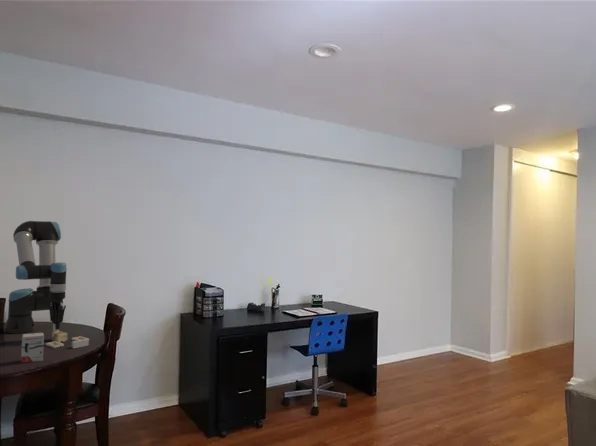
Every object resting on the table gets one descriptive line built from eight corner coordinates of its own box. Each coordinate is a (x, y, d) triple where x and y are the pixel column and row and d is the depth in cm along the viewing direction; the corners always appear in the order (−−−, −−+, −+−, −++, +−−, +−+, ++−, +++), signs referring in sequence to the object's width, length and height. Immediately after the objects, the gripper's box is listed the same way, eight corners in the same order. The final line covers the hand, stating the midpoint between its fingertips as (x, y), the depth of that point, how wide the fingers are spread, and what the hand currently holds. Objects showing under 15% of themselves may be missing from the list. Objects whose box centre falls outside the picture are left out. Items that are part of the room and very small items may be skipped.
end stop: (71, 347, 228) (71, 341, 228) (86, 344, 235) (86, 338, 235) (73, 348, 227) (74, 342, 227) (88, 345, 234) (88, 339, 234)
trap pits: (45, 345, 231) (45, 343, 231) (80, 338, 247) (80, 336, 247) (54, 347, 227) (54, 345, 227) (89, 340, 243) (89, 338, 243)
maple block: (51, 340, 240) (52, 333, 240) (60, 338, 244) (61, 331, 244) (58, 342, 237) (58, 334, 237) (67, 340, 241) (67, 333, 241)
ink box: (21, 363, 202) (22, 336, 202) (20, 360, 206) (22, 334, 206) (43, 360, 206) (44, 334, 206) (42, 357, 210) (43, 332, 210)
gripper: (44, 290, 243) (42, 334, 243) (57, 293, 236) (55, 338, 236) (57, 289, 250) (55, 332, 249) (71, 292, 243) (69, 336, 242)
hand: (55, 335), depth 243 cm, fingers closed
